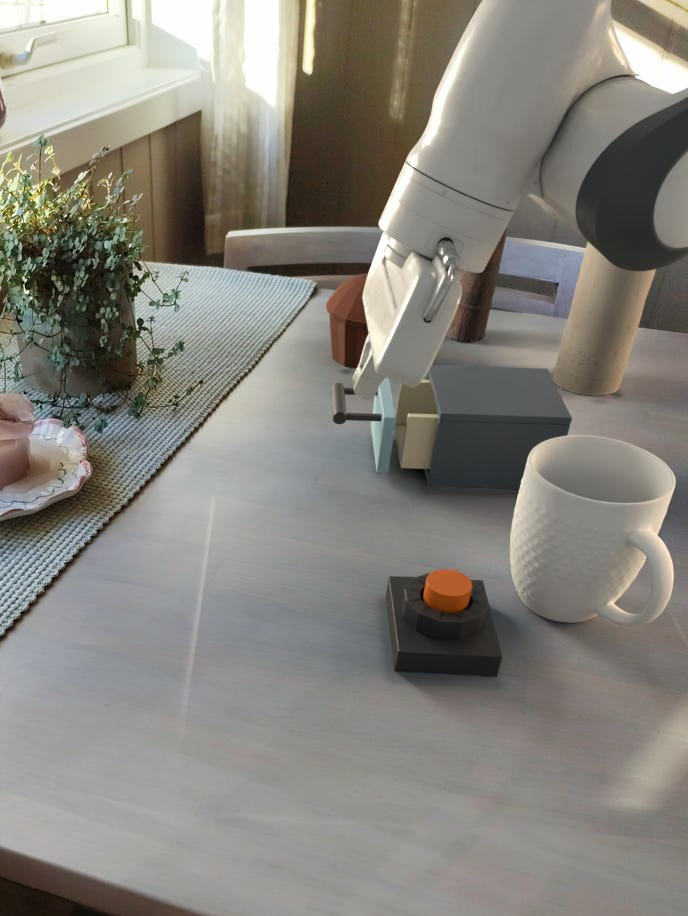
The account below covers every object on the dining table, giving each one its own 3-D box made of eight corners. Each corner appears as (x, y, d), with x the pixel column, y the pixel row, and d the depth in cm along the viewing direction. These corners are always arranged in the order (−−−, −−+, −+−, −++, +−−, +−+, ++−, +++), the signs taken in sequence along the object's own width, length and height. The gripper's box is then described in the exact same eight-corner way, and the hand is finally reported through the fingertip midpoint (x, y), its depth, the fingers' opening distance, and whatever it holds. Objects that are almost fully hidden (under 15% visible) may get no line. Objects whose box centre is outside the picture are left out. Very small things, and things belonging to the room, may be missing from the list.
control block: (478, 600, 78) (487, 562, 75) (497, 677, 70) (508, 639, 68) (385, 595, 78) (391, 558, 76) (394, 672, 71) (401, 633, 68)
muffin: (312, 341, 122) (318, 265, 115) (390, 336, 123) (400, 260, 117) (337, 378, 113) (345, 298, 106) (421, 371, 114) (433, 292, 108)
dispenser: (427, 485, 93) (440, 413, 87) (416, 433, 102) (428, 364, 96) (551, 490, 92) (572, 417, 87) (530, 437, 101) (547, 368, 96)
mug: (689, 648, 73) (752, 511, 65) (582, 685, 70) (634, 546, 61) (565, 552, 83) (606, 423, 75) (467, 580, 80) (498, 449, 72)
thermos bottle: (613, 370, 114) (688, 121, 96) (625, 398, 108) (708, 137, 90) (548, 367, 115) (611, 119, 97) (556, 393, 109) (625, 135, 91)
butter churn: (484, 358, 117) (534, 114, 99) (418, 341, 122) (454, 104, 104) (512, 336, 123) (564, 101, 105) (448, 320, 127) (487, 93, 109)
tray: (329, 471, 93) (334, 415, 89) (326, 425, 101) (331, 372, 97) (488, 477, 92) (501, 421, 88) (474, 430, 100) (485, 376, 96)
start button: (465, 587, 73) (469, 570, 72) (471, 614, 71) (475, 597, 69) (420, 585, 74) (424, 568, 72) (425, 612, 71) (428, 595, 70)
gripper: (502, 278, 59) (406, 457, 67) (460, 213, 76) (386, 363, 84) (416, 242, 58) (328, 428, 66) (392, 184, 75) (324, 338, 83)
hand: (361, 391), depth 75 cm, fingers closed
